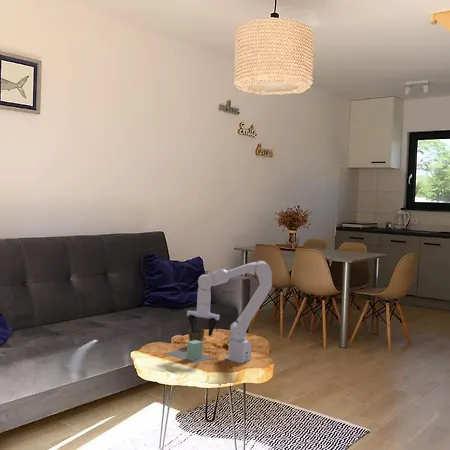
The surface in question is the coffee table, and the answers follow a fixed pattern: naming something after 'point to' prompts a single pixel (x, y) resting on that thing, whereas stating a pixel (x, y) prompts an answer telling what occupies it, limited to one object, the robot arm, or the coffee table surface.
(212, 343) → the coffee table surface
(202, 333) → the cup
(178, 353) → the mat
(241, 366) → the coffee table surface
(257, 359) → the coffee table surface
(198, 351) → the block
